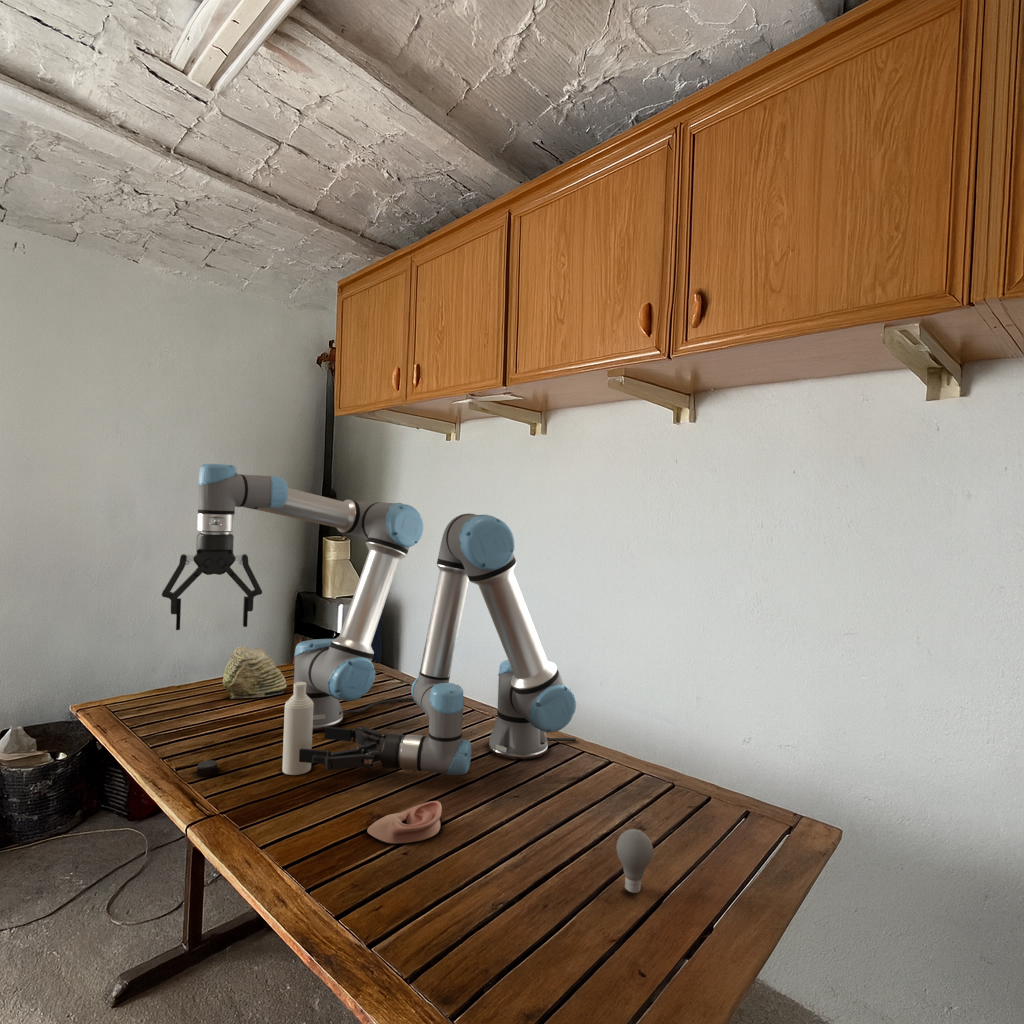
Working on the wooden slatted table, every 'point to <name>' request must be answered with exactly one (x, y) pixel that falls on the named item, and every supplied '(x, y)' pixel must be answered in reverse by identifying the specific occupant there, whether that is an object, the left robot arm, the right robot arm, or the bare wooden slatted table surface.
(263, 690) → the fossil
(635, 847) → the light bulb
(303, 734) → the bottle
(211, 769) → the cap
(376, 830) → the anatomical model
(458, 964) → the wooden slatted table surface
